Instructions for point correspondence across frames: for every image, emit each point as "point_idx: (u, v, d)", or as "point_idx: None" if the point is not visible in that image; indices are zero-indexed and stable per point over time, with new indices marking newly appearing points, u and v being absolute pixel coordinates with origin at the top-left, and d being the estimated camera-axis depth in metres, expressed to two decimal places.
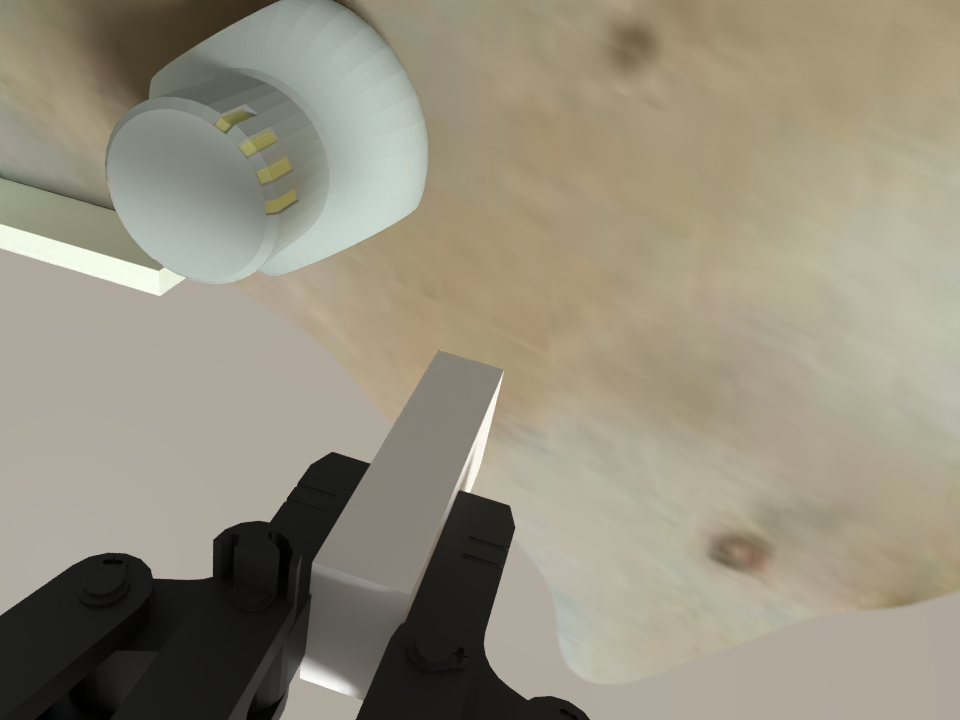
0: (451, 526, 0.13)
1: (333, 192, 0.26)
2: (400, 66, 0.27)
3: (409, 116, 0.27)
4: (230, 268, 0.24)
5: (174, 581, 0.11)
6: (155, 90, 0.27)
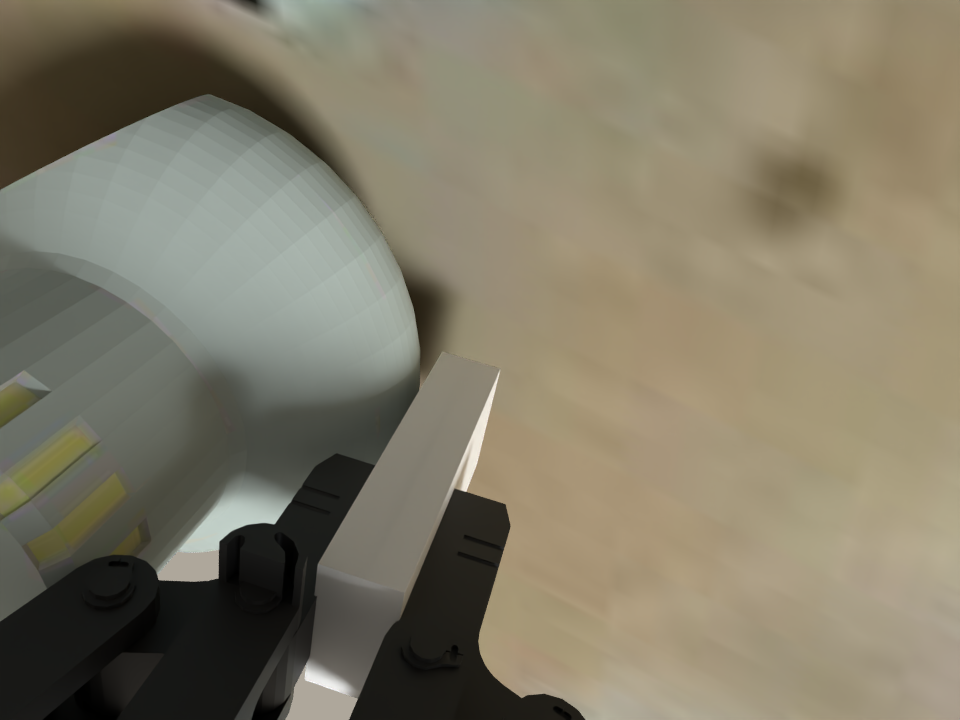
0: (446, 525, 0.13)
1: (240, 470, 0.14)
2: (370, 235, 0.14)
3: (384, 330, 0.14)
4: None
5: (180, 583, 0.11)
6: None
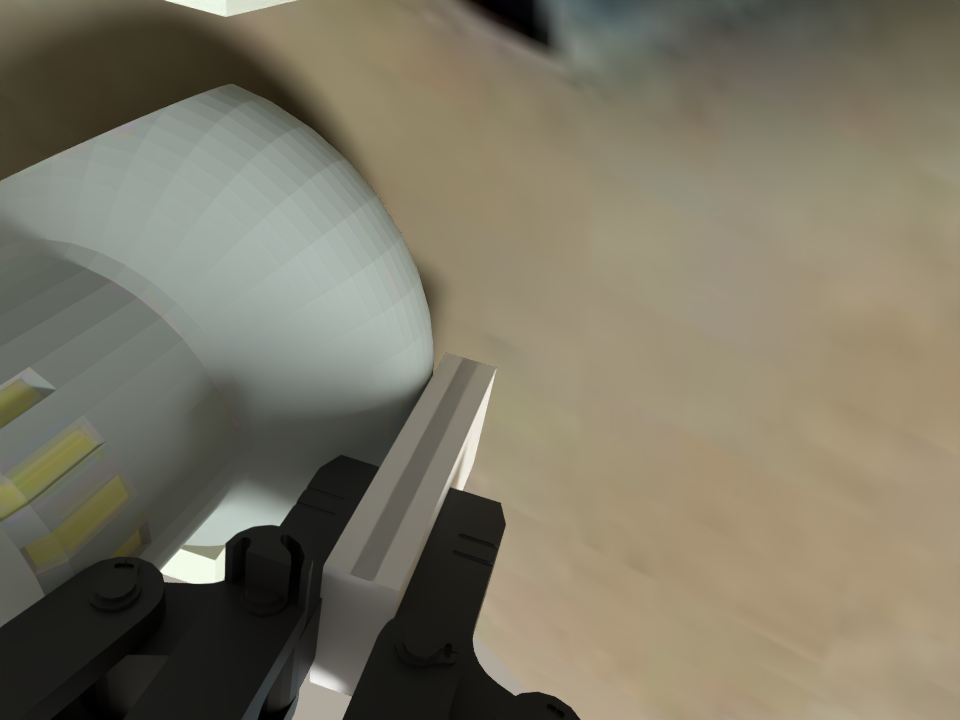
0: (441, 523, 0.13)
1: (245, 470, 0.14)
2: (389, 238, 0.14)
3: (398, 336, 0.14)
4: None
5: (185, 585, 0.11)
6: None
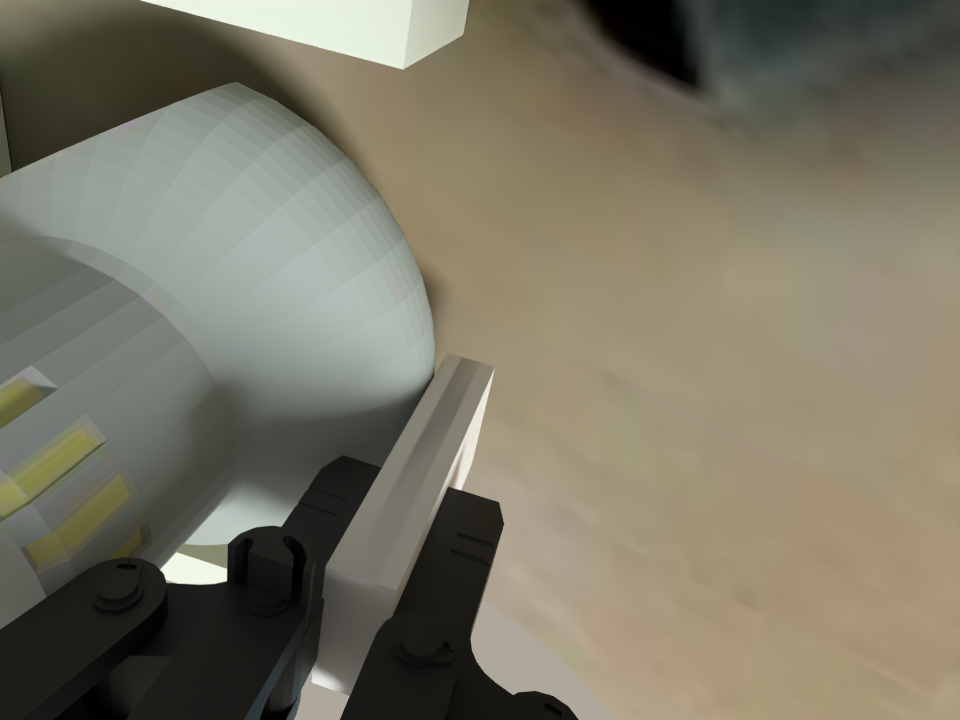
0: (440, 522, 0.13)
1: (246, 471, 0.14)
2: (392, 238, 0.14)
3: (400, 337, 0.14)
4: None
5: (187, 585, 0.11)
6: None
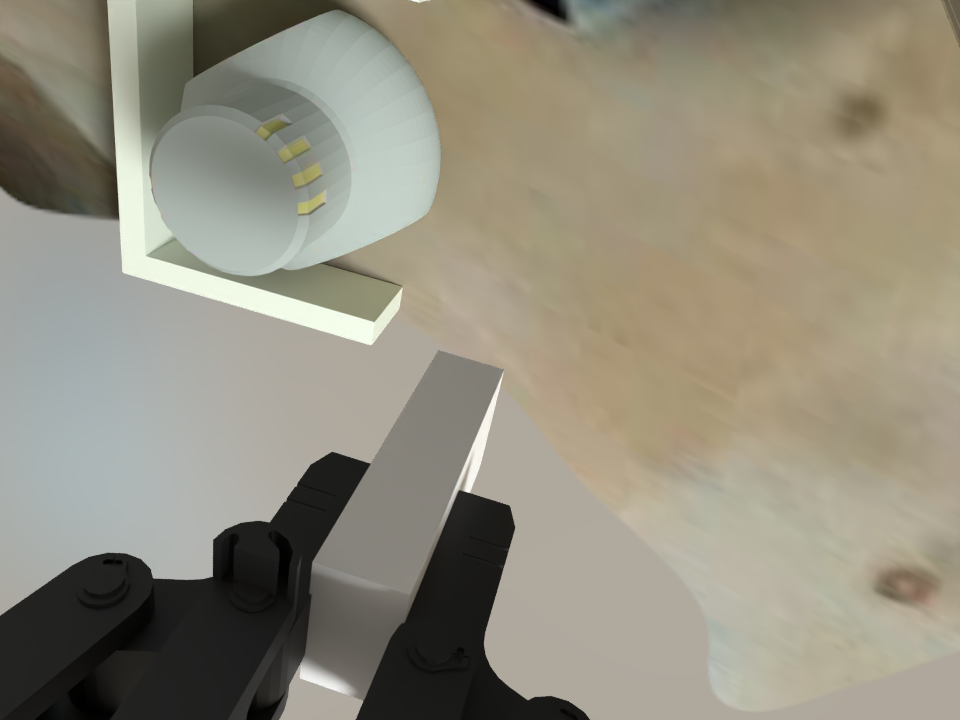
0: (451, 526, 0.13)
1: (354, 196, 0.29)
2: (419, 82, 0.29)
3: (426, 129, 0.29)
4: (261, 262, 0.26)
5: (174, 581, 0.11)
6: (190, 94, 0.29)
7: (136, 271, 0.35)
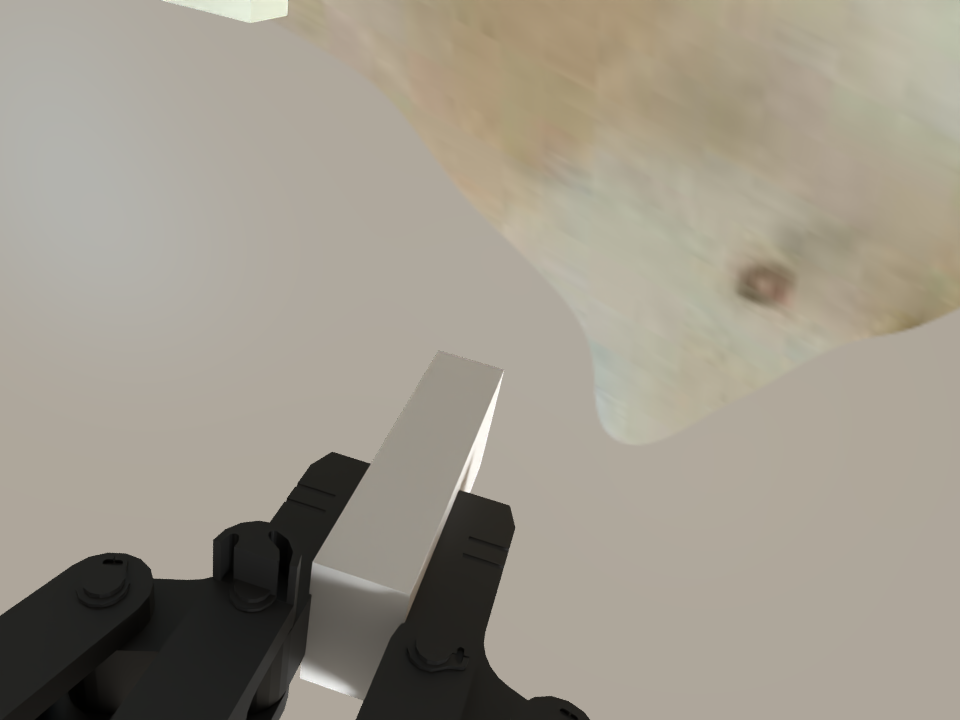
0: (451, 526, 0.13)
1: None
2: None
3: None
4: None
5: (174, 581, 0.11)
6: None
7: None
